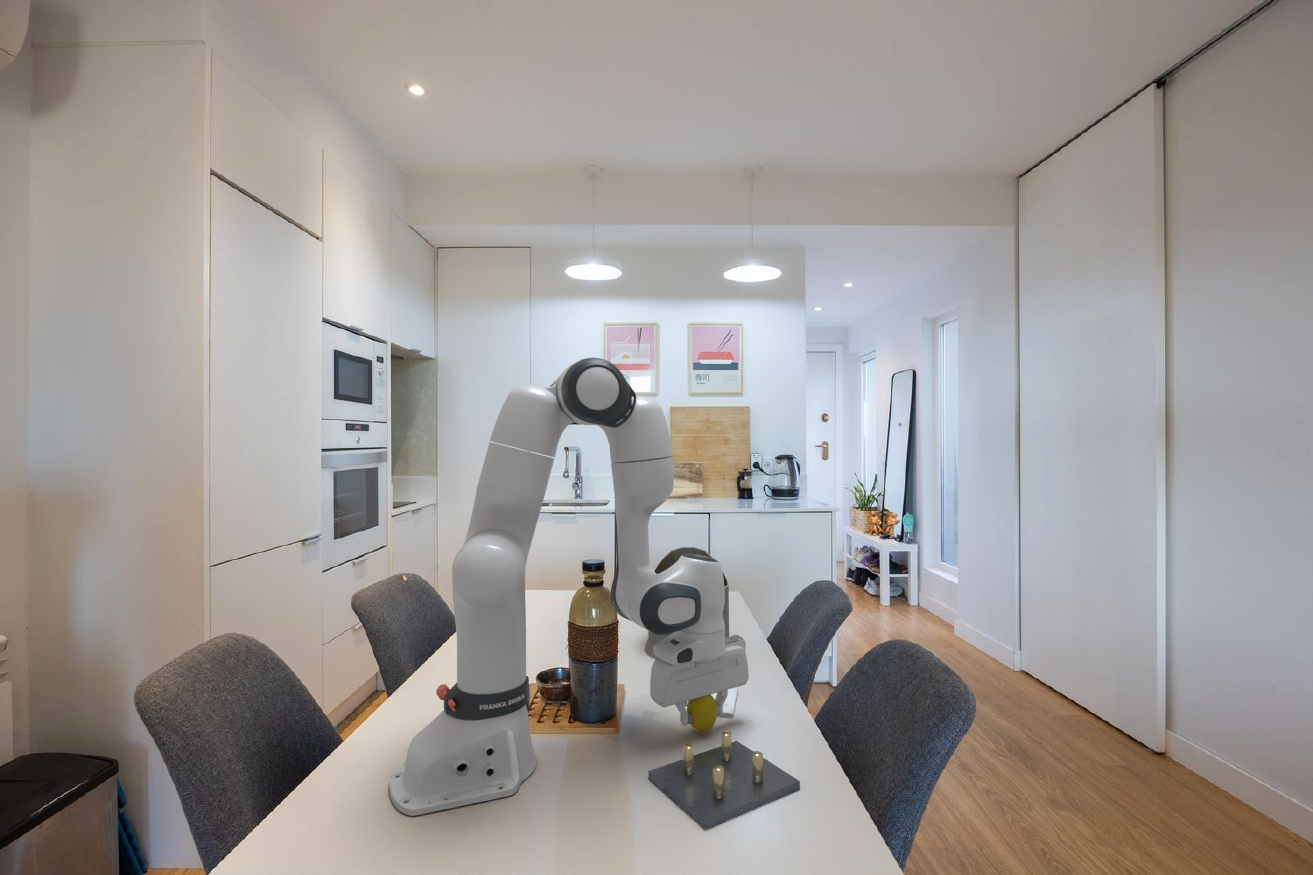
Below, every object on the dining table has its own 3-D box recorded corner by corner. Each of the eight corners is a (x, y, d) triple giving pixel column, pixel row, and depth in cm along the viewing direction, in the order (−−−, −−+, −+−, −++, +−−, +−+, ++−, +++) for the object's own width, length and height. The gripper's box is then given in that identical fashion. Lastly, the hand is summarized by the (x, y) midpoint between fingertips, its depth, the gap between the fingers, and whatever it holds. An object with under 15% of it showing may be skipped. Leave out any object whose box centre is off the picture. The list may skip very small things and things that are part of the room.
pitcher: (730, 635, 165) (729, 546, 166) (739, 679, 134) (738, 568, 134) (648, 634, 167) (647, 546, 167) (637, 678, 135) (636, 568, 136)
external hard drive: (737, 695, 126) (733, 721, 114) (699, 692, 128) (691, 717, 116) (737, 687, 126) (733, 712, 114) (699, 684, 128) (691, 709, 116)
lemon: (714, 725, 111) (714, 683, 111) (719, 740, 105) (718, 695, 106) (685, 726, 111) (685, 683, 111) (688, 741, 105) (687, 696, 105)
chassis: (705, 829, 81) (704, 791, 81) (648, 778, 93) (648, 745, 93) (799, 788, 90) (799, 754, 90) (736, 747, 103) (736, 717, 103)
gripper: (734, 628, 117) (734, 699, 116) (645, 647, 106) (645, 725, 106) (755, 637, 111) (756, 711, 111) (664, 657, 101) (665, 739, 100)
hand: (701, 718), depth 108 cm, fingers closed on lemon, 5 cm apart
